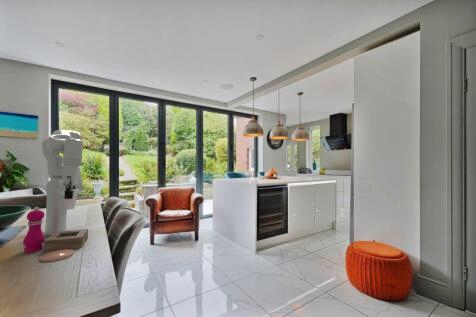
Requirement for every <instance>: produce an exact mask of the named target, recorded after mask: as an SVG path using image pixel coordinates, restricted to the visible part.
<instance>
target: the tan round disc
mask: <svg viewBox="0 0 476 317" xmlns="http://www.w3.org/2000/svg"><path fill="white" fill-rule="evenodd" d="M74 252H75V249H63V250H57V251H52V252H45V253H44V254H42V255H40V256H39V261H40V262H41V263H42V262H43V263H50V262H57V261H62V260H66V259H67V258H70V257H72V256H74Z"/></svg>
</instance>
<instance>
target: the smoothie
mask: <svg viewBox="0 0 476 317" xmlns="http://www.w3.org/2000/svg"><path fill="white" fill-rule="evenodd" d="M72 191H73V198H72V199H64V203H65V209H66V210H67V211H68V210H75V207H76V202H77V198H78V194H77V193H78V191H79V190H78V189H72ZM63 193H64V194H65V190H63Z"/></svg>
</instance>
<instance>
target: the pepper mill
mask: <svg viewBox="0 0 476 317" xmlns="http://www.w3.org/2000/svg"><path fill="white" fill-rule="evenodd" d="M45 217H46V213H45V212H44V211H43V210H40V207H39V206H35V207H33V210H31V211H30V212H28V213H27V215H26V219H27V220H28V221H27V225H28V231H27V233H26V235H25V236H24V238H23V242H22V245H23V246H24V248H23V253H25V254H30V253H35V252H39V251H42V250H44V241H45V240H46V239H45V238H46V237H45V235H44V234H43V229H42V224H43V221H44V220H43V219H44V218H45Z"/></svg>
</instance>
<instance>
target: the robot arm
mask: <svg viewBox="0 0 476 317" xmlns="http://www.w3.org/2000/svg"><path fill="white" fill-rule="evenodd" d="M83 144H84V143H83V137H82V135H81V133H80V132H78V131H73V130H66V129H56V130H54V131H53V132H52V133H51V135H50V136H49V137H48V138H46V139H44V140H42V143H41V151H42V153H43V156H44V158H45V160H46V163H47V175H48V178H49V179H50V180H49V181H47V182H46V184H45V194H46V205H45V206H46V210H45V222H44V224H45V225H44V230H42V232H43V234H44V236H51V235H53V234H54V233H55V232H60V231H70V228H69V227H67V219H68V218H67V217H68V210H66V209H65V203H64V199H72V198H73V191H72V189H78V190H79V191H78V193H77V195H79V194H80V193H82V192H83V185H84V184H83V177H82V172H81V171H82V170H81V168H80V167H81V166H82V163H83V160H82V159H83V151H84V150H83V149H84V146H83ZM61 154H63V156H62V155H61ZM63 190H65V194H64V193H63Z"/></svg>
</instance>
